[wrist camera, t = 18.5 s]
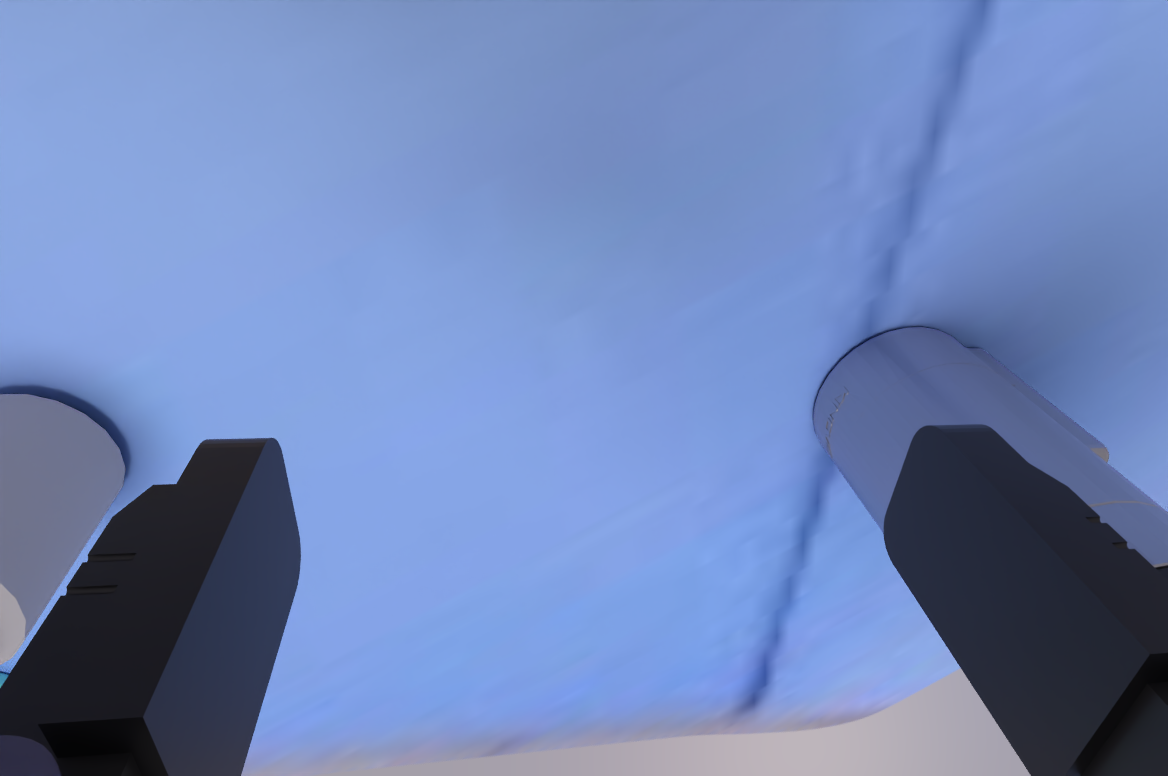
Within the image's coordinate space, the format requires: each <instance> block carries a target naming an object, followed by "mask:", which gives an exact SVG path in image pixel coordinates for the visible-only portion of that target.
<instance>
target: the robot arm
mask: <svg viewBox="0 0 1168 776" xmlns="http://www.w3.org/2000/svg"><path fill="white" fill-rule="evenodd" d="M813 421H814V427H815V433H816V435H817V437H818V439H819V441H820V443H821V445H822V446H823V448H824V449H825V451H826V452H827V453H828V455H829V456H830V458H831V459H832V461H833V462H834V463H835V465H836V466H837V468H838V469H839V471H840V472H841V473H842V475H843V476H844V478H845V479H846V481H847V482H848V483H849V485H850V487H851V488H852V490H853V491H854V492H855V494H856V495H857V497H858V498H859V499H860V501H861V502H862V504H863V505H864V507H865V508H866V509H867V511H868V512H869V514H870V515H871V517H872V518H873V519H874V521H875V522H876V524H877V525H878V526H879V528H880V529H881V531H882V532H883V534H884V540H885V545H886V549H887V552H888V555H889V557H890V559H891V561H892V563H893V565H894V566H895V568H896V569H897V571H898V572H899V574H900V575H901V577H902V578H903V580H904V582H905V583H906V585H907V586H908V588H909V589H910V591H911V592H912V594H913V595H914V597H915V598H916V600H917V601H918V603H919V605H920V606H921V608H922V609H923V611H924V612H925V614H926V615H927V617H928V618H929V620H930V621H931V623H932V624H933V626H934V628H935V629H936V631H937V632H938V634H939V635H940V637H941V638H942V640H943V641H944V643H945V644H946V646H947V647H948V649H949V651H950V652H951V654H952V655H953V657H954V658H955V660H956V661H957V663H958V664H959V666H960V667H961V669H962V670H963V672H964V673H965V675H966V677H967V678H968V680H969V681H970V683H971V684H972V686H973V687H974V689H975V690H976V692H977V693H978V695H979V696H980V698H981V700H982V701H983V703H984V704H985V706H986V707H987V709H988V710H989V712H990V713H991V715H992V716H993V718H994V719H995V721H996V723H997V724H998V726H999V727H1000V729H1001V730H1002V732H1003V733H1004V735H1005V736H1006V738H1007V739H1008V741H1009V742H1010V744H1011V746H1012V747H1013V749H1014V750H1015V752H1016V753H1017V755H1018V756H1019V758H1020V759H1021V761H1022V762H1023V764H1024V765H1025V767H1026V769H1027V770H1028V772H1029V773H1030V774H1031V776H1168V512H1167V511H1166V510H1164V509H1163V508H1162V507H1161V506H1160V505H1158V504H1157V503H1156V502H1155V501H1153V500H1152V499H1151V498H1150V497H1149V496H1147V495H1146V494H1145V493H1144V492H1142V491H1141V490H1140V489H1139V488H1137V487H1136V486H1135V485H1134V484H1133V483H1131V482H1130V481H1129V480H1128V479H1126V478H1125V477H1124V476H1123V475H1122V474H1120V473H1119V472H1118V471H1117V470H1115V469H1114V468H1113V467H1112V466H1110V465H1109V464H1108V463H1107V462H1108V459H1109V452H1108V450H1107V448H1106V447H1105V446H1104V445H1103V444H1102V443H1101V442H1100V441H1098V440H1097V439H1096V438H1095V437H1093V436H1092V435H1091V434H1090V433H1088V432H1087V431H1086V430H1084V429H1083V428H1082V427H1081V426H1079V425H1078V424H1077V423H1076V422H1074V421H1073V420H1072V419H1071V418H1069V417H1068V416H1067V415H1065V414H1064V413H1063V412H1062V411H1060V410H1059V409H1058V408H1057V407H1055V406H1054V405H1053V404H1052V403H1050V402H1049V401H1048V400H1046V399H1045V398H1044V397H1043V396H1041V395H1040V394H1039V393H1038V392H1036V391H1035V390H1034V389H1033V388H1031V387H1030V386H1029V385H1028V384H1026V383H1025V382H1024V381H1022V380H1021V379H1020V378H1019V377H1017V376H1016V375H1015V374H1014V373H1012V372H1011V371H1010V370H1009V369H1007V368H1006V367H1005V366H1003V365H1002V364H1001V363H1000V362H998V361H997V360H996V359H995V358H993V357H992V356H991V355H990V354H988V353H987V352H986V351H984V350H983V349H982V348H966V347H964V346H963V345H962V344H961V343H959V342H958V341H957V340H956V339H955V338H953V337H952V336H951V335H948V334H946V333H944V332H942V331H940V330H936V329H931V328H925V327H912V328H902V329H898V330H894V331H889V332H886V333H884V334H882V335H879V336H877V337H874V338H872V339H870V340H868V341H867V342H865V343H863V344H862V345H860V346H859V347H857V348H855V349H854V350H853V351H852V352H850V353H849V354H848V355H847V356H846V357H845V358H843V359H842V360H841V361H840V362H839V363H838V364H837V366H836V367H835V368H834V369H833V370H832V372H831V373H830V374H829V375H828V377H827V378H826V380H825V382H824V384H823V385H822V387H821V389H820V391H819V394H818V397H817V400H816V403H815V407H814V417H813ZM300 560H301V548H300V537H299V531H298V526H297V521H296V517H295V512H294V507H293V502H292V497H291V492H290V488H289V483H288V478H287V473H286V468H285V464H284V459H283V454H282V450H281V447H280V445H279V443H278V441H277V440H276V439H274V438H255V439H209V440H204V441H203V442H202V443H201V444H200V445H199V446H198V448H197V449H196V451H195V453H194V454H193V456H192V458H191V460H190V461H189V463H188V465H187V467H186V468H185V470H184V472H183V473H182V475H181V477H180V479H179V480H178V482H177V484H168V485H152V486H151V487H150V488H149V489H147V490H146V491H145V492H144V493H142V494H141V495H140V496H139V497H137V498H136V499H135V500H133V501H132V502H131V503H130V504H128V505H127V506H126V507H125V508H123V509H122V510H121V511H120V512H118V513H117V514H116V515H115V516H113V517H112V519H111V520H110V522H109V523H108V525H107V526H106V528H105V529H104V531H103V532H102V534H101V535H100V537H99V538H98V540H97V542H96V543H95V545H94V546H93V548H92V549H91V551H90V552H89V554H88V561H87V562H83V563H82V564H81V566H80V567H79V569H78V570H77V572H76V574H75V575H74V577H73V578H72V580H71V581H70V583H69V584H68V586H67V593H66V595H65V596H60V598H59V599H58V601H57V602H56V604H55V606H54V607H53V609H52V610H51V612H50V613H49V615H48V616H47V618H46V619H45V621H44V622H43V624H42V625H41V627H40V628H39V630H38V631H37V633H36V634H35V636H34V637H33V639H32V641H31V642H30V644H29V645H28V647H27V648H26V650H25V651H24V653H23V654H22V656H21V657H20V659H19V660H18V662H17V663H16V665H15V666H14V668H13V669H12V671H11V673H10V674H9V676H8V677H7V679H6V680H5V682H4V683H3V685H2V686H1V688H0V776H241V773H242V770H243V767H244V763H245V760H246V757H247V753H248V750H249V747H250V743H251V740H252V736H253V733H254V730H255V726H256V723H257V720H258V716H259V713H260V710H261V706H262V703H263V700H264V696H265V693H266V690H267V686H268V683H269V679H270V676H271V673H272V669H273V666H274V663H275V659H276V656H277V653H278V649H279V646H280V643H281V639H282V636H283V632H284V629H285V626H286V622H287V619H288V616H289V612H290V609H291V606H292V602H293V599H294V596H295V592H296V589H297V585H298V580H299V573H300Z"/></svg>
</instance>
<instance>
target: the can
mask: <svg viewBox="0 0 1168 776" xmlns="http://www.w3.org/2000/svg"><path fill="white" fill-rule="evenodd" d="M124 475H125V465H124V462H123V459H122V455H121V452H120V449H119V448H118V446H117V445H116V444H115V442H114V441H113V440H112V438H111V437H110V436H109V434H108V433H107V432H106V430H105V429H103V428H102V427H101V426H100V425H98V424H97V423H96V422H94V421H93V420H92V419H91V418H89V417H88V416H87V415H85V414H84V413H82V412H80V411H78V410H76V409H74V408H71V407H69V406H67V405H65V404H63V403H61V402H58V401H56V400H51V399H47V398H42V397H38V396H34V395H29V394H0V665H1V664H3V663H4V662H6V661H8V660H9V659H11V658H13V656H14V655H15V653H16V652H17V651H18V649H19V648H20V646H21V645H22V643H23V642H24V640H25V639H26V637H27V636H28V634H29V632H30V631H31V629H32V628H33V626H34V625H35V623H36V622H37V620H38V618H39V617H40V615H41V614H42V612H43V611H44V609H45V607H46V606H47V604H48V603H49V601H50V600H51V598H52V596H53V595H54V593H55V592H56V590H57V589H58V587H59V586H60V584H61V582H62V581H63V579H64V578H65V576H66V575H67V573H68V571H69V570H70V568H71V567H72V565H73V564H74V562H75V560H76V559H77V557H78V556H79V554H80V553H81V551H82V550H83V548H84V546H85V545H86V543H87V542H88V540H89V539H90V537H91V535H92V534H93V532H94V531H95V529H96V528H97V526H98V524H99V523H100V521H101V520H102V518H103V517H104V515H105V513H106V512H107V510H108V509H109V507H110V506H111V504H112V503H113V501H114V499H115V498H116V496H117V495H118V493H119V492H120V490H121V488H122V487H123V483H124Z"/></svg>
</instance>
